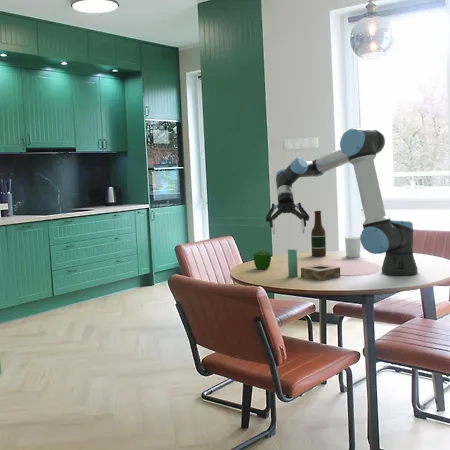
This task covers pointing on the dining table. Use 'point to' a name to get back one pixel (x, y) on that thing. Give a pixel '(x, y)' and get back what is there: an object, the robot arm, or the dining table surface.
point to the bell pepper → (262, 259)
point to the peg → (292, 263)
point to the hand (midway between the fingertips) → (288, 232)
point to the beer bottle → (318, 237)
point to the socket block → (320, 272)
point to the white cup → (352, 246)
